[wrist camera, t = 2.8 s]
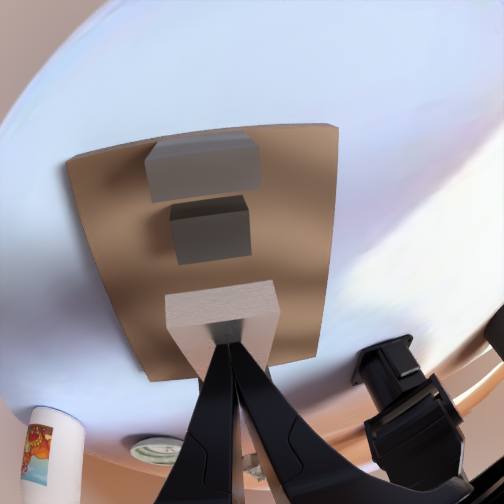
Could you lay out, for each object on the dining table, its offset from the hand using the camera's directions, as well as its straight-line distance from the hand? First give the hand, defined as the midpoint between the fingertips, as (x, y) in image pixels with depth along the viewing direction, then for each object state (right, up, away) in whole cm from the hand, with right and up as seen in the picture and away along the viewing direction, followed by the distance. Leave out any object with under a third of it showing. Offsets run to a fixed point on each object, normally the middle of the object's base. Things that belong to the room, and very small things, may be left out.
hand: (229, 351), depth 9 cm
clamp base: (-2, +2, +10) cm, 10 cm away
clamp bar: (0, -2, +5) cm, 6 cm away
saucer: (-11, -22, +23) cm, 34 cm away
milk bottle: (-24, -18, +18) cm, 35 cm away
